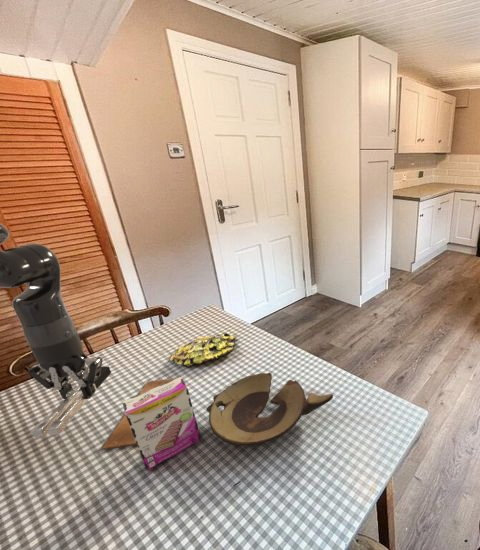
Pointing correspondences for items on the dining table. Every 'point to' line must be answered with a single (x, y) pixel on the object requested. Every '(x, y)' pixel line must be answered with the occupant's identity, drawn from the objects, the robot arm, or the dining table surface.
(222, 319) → the dining table surface
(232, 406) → the brown shallow dish
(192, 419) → the candy bar box
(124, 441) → the cork mat
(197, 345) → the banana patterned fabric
